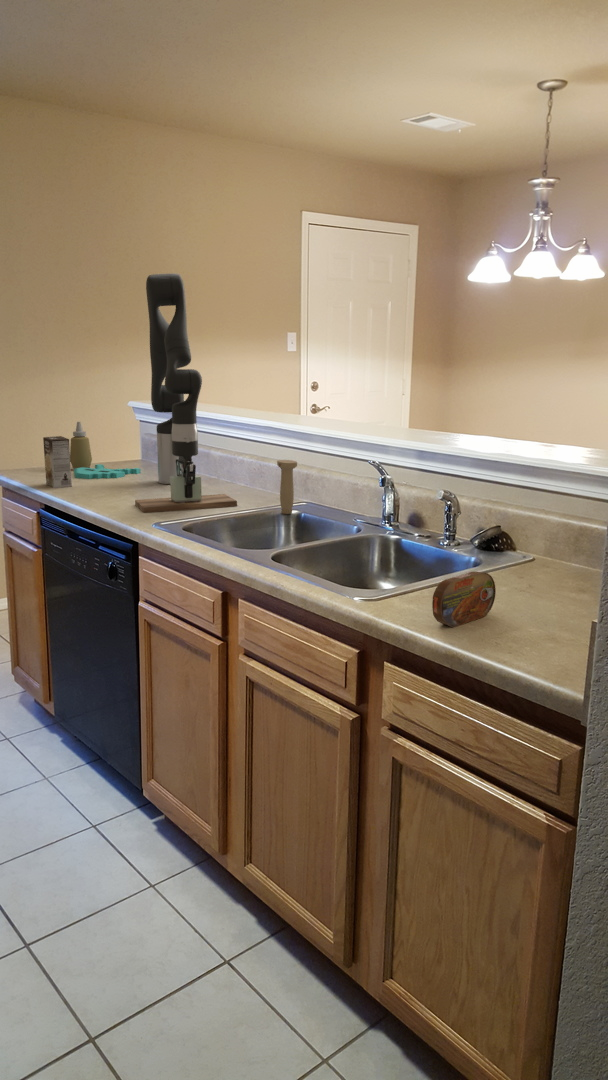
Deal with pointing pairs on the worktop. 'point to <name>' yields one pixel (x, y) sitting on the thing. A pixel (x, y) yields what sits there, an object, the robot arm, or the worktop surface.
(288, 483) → the handle
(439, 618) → the tin
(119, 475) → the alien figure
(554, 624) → the worktop surface
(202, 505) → the walnut board
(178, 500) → the block
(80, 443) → the squeeze bottle
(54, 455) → the coffee box
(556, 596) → the worktop surface
